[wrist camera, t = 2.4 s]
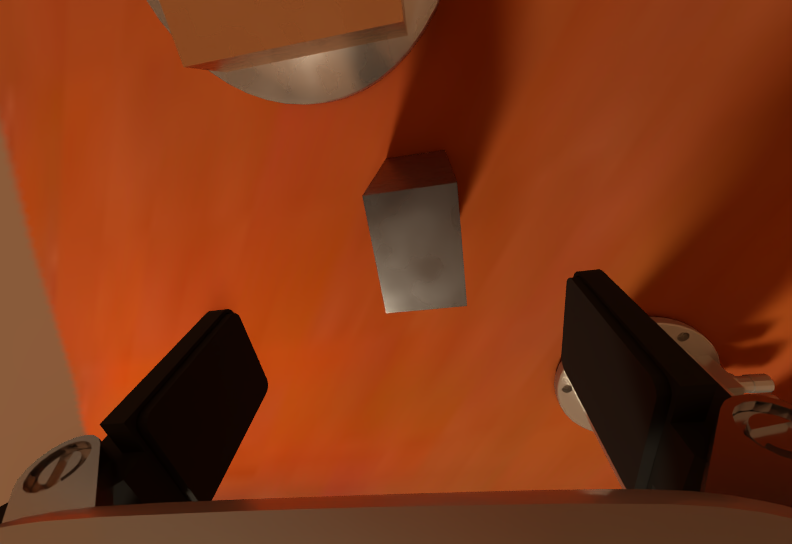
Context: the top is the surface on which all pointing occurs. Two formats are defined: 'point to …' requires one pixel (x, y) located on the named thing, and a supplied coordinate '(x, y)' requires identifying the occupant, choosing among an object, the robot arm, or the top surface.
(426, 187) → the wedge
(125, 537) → the robot arm
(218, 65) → the beige piece
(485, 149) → the top surface
